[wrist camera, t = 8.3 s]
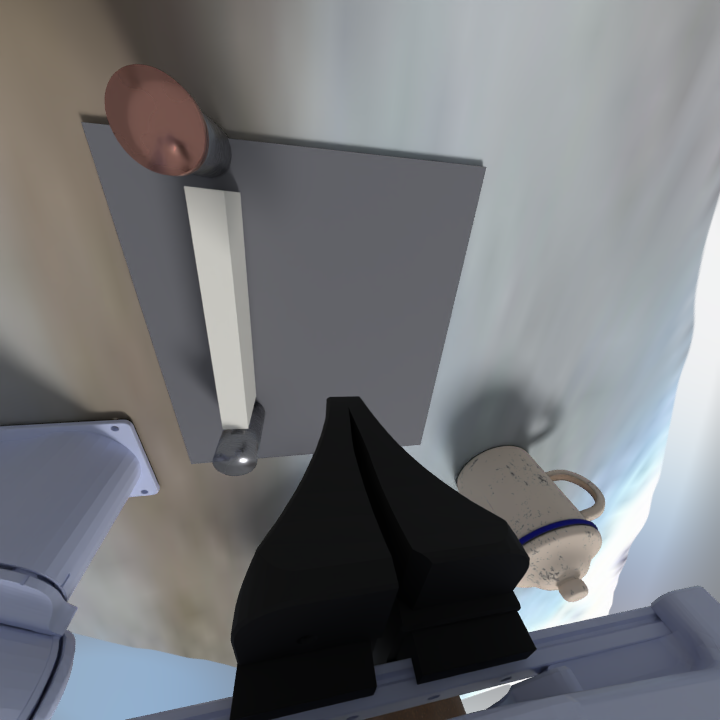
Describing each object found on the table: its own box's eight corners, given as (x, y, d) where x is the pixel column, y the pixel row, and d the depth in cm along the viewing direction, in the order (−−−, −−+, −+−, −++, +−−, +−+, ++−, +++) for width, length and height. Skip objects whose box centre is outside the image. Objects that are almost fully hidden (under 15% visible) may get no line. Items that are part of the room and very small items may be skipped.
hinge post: (233, 424, 22) (216, 477, 18) (228, 397, 21) (208, 448, 17) (267, 422, 23) (258, 473, 19) (264, 396, 22) (254, 445, 17)
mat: (192, 460, 24) (191, 463, 23) (86, 123, 13) (81, 121, 13) (419, 442, 27) (420, 444, 27) (483, 167, 16) (486, 166, 16)
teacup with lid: (460, 507, 34) (524, 634, 24) (446, 462, 29) (519, 597, 20) (554, 470, 34) (659, 584, 24) (555, 419, 29) (686, 535, 19)
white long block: (256, 395, 21) (248, 428, 18) (234, 395, 21) (222, 429, 18) (240, 192, 15) (224, 191, 12) (208, 188, 14) (183, 186, 11)
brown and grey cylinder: (182, 180, 14) (122, 171, 10) (168, 108, 13) (89, 56, 8) (240, 185, 15) (211, 179, 10) (232, 116, 14) (194, 72, 9)
